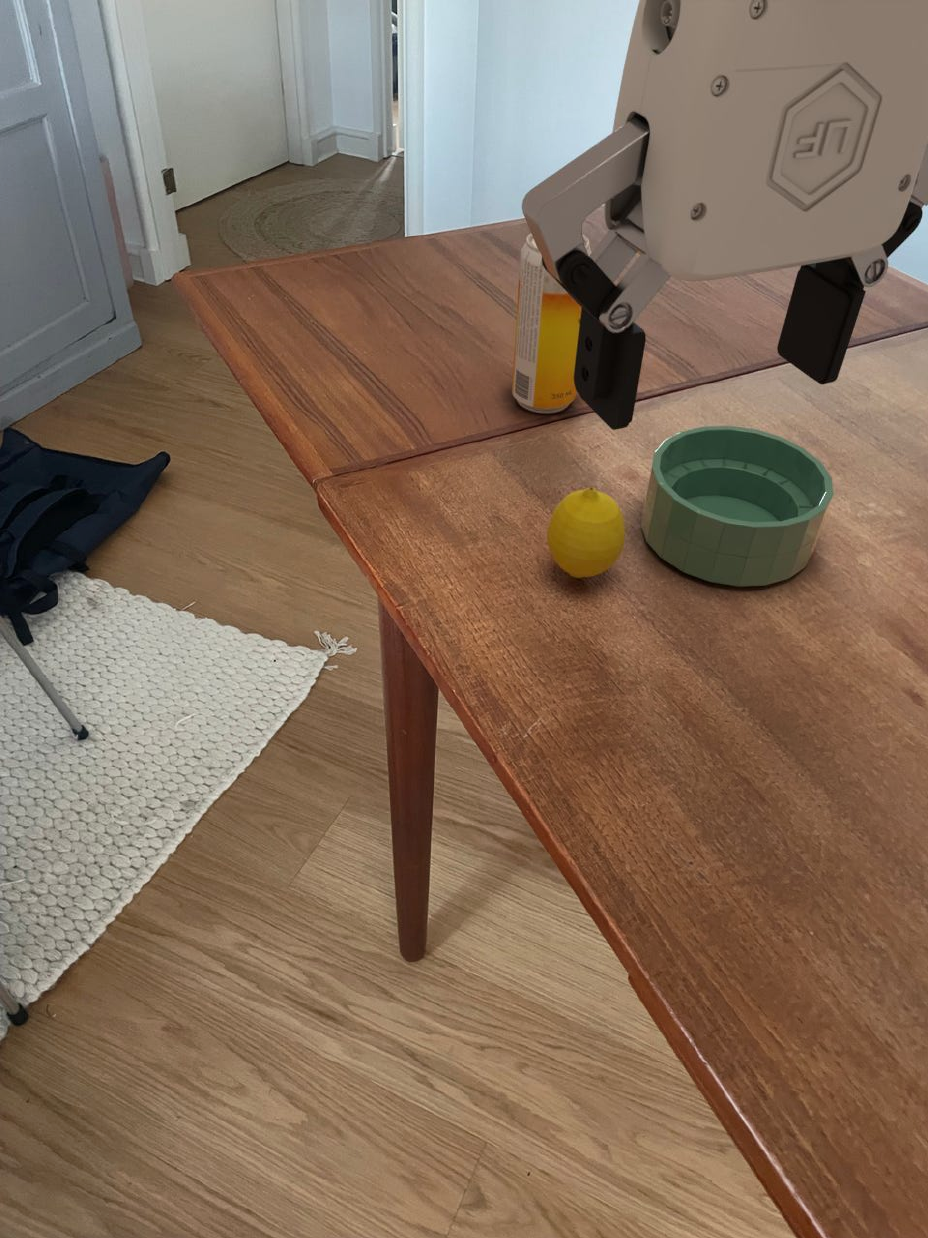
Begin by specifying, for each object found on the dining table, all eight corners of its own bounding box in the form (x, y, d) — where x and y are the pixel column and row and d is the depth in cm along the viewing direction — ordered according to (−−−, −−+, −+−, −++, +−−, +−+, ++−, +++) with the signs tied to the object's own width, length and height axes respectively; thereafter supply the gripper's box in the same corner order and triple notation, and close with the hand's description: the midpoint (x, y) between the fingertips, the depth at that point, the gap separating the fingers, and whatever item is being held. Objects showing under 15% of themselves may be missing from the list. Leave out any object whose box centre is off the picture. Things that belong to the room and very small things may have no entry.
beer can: (588, 399, 89) (608, 240, 78) (547, 423, 85) (563, 260, 75) (539, 377, 92) (552, 221, 81) (498, 399, 88) (506, 239, 78)
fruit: (613, 605, 67) (630, 516, 62) (537, 593, 68) (547, 504, 63) (620, 557, 71) (635, 470, 66) (548, 547, 72) (558, 459, 67)
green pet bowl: (846, 566, 71) (871, 502, 67) (700, 609, 67) (718, 544, 63) (744, 474, 80) (761, 413, 76) (610, 507, 76) (620, 444, 72)
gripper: (631, -148, 21) (560, 483, 33) (1165, -150, 26) (938, 395, 38) (494, -171, 26) (474, 383, 38) (965, -170, 31) (819, 317, 43)
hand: (707, 389), depth 38 cm, fingers open, 9 cm apart
